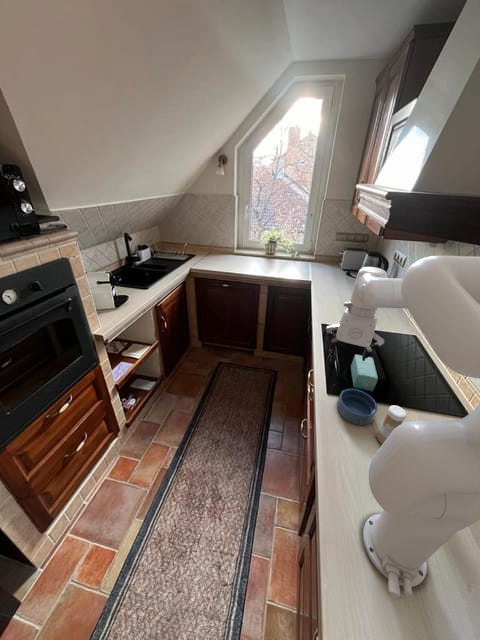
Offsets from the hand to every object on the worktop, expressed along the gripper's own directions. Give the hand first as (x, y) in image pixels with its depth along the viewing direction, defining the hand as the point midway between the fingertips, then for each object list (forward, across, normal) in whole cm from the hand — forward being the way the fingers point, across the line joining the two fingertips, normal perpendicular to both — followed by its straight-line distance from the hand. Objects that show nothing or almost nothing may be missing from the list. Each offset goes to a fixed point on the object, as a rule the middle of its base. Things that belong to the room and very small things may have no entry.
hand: (347, 354), depth 84 cm
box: (+22, +9, +17) cm, 29 cm away
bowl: (+22, +8, -2) cm, 23 cm away
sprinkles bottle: (+21, +17, -10) cm, 29 cm away
